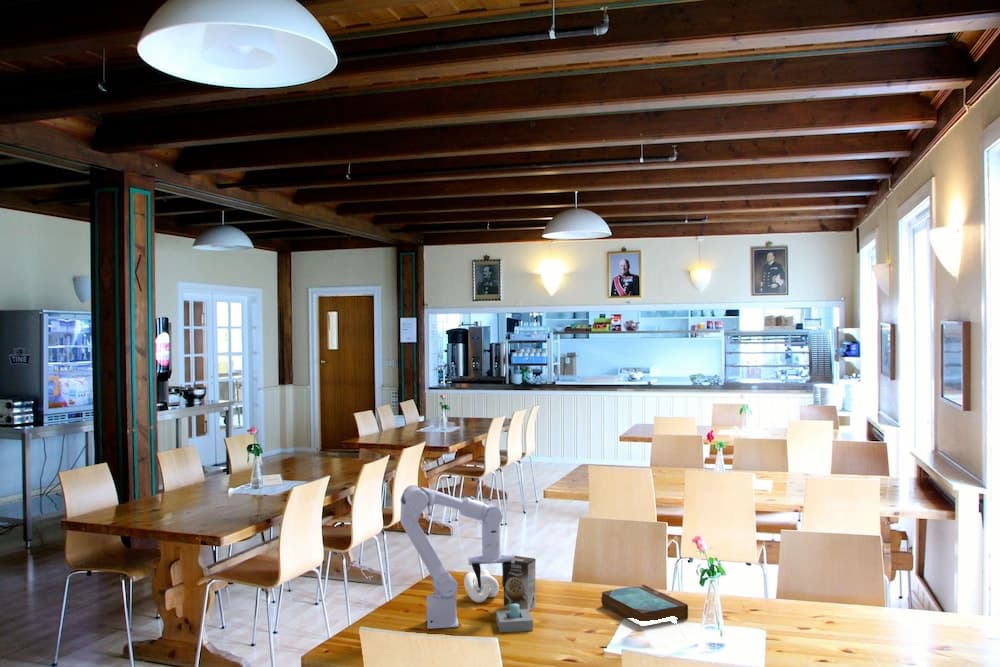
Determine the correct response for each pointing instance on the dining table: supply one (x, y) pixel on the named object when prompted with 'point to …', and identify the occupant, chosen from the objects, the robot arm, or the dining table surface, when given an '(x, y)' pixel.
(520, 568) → the coffee box
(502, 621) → the socket board
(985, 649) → the dining table surface
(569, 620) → the dining table surface
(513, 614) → the peg
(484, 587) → the white knot sculpture
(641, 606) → the book
